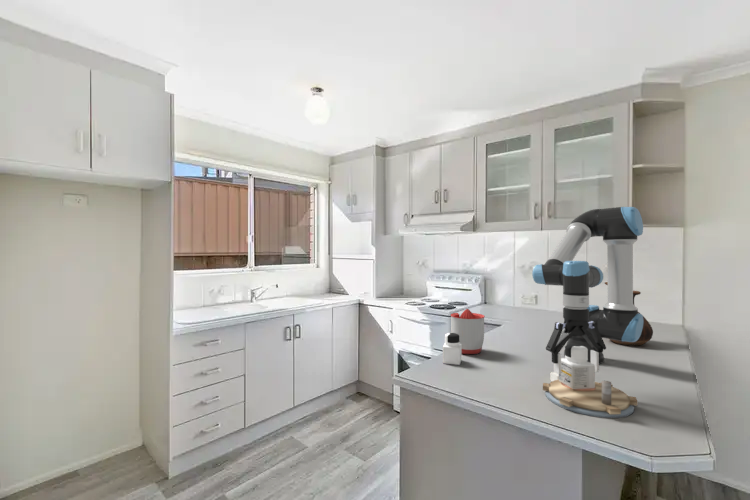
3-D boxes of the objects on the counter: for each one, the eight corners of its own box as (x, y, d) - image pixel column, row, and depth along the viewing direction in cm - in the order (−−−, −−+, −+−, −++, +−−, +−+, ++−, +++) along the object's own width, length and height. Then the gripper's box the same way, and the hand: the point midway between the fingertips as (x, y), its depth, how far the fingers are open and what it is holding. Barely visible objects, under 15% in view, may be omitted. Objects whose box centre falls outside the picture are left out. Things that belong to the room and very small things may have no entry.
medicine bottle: (461, 360, 155) (461, 332, 155) (459, 365, 148) (459, 336, 148) (444, 358, 157) (444, 331, 157) (442, 363, 151) (442, 334, 151)
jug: (650, 340, 187) (650, 283, 187) (655, 350, 169) (655, 286, 169) (600, 335, 199) (600, 281, 199) (600, 344, 180) (600, 284, 180)
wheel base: (521, 382, 129) (521, 374, 129) (582, 378, 133) (582, 370, 133) (580, 420, 100) (580, 409, 100) (655, 414, 104) (655, 404, 104)
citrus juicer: (477, 345, 179) (477, 305, 179) (489, 356, 161) (489, 311, 161) (446, 346, 178) (446, 305, 178) (455, 356, 161) (454, 311, 161)
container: (558, 380, 122) (557, 342, 122) (579, 379, 123) (579, 341, 123) (573, 389, 114) (572, 348, 114) (595, 388, 115) (595, 348, 115)
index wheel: (656, 413, 101) (656, 386, 101) (574, 415, 101) (574, 387, 101) (597, 380, 127) (597, 359, 127) (531, 381, 126) (531, 359, 126)
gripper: (548, 310, 113) (548, 378, 113) (618, 308, 117) (618, 373, 117) (534, 306, 120) (534, 370, 120) (600, 304, 124) (601, 366, 124)
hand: (576, 372), depth 119 cm, fingers open, 13 cm apart
